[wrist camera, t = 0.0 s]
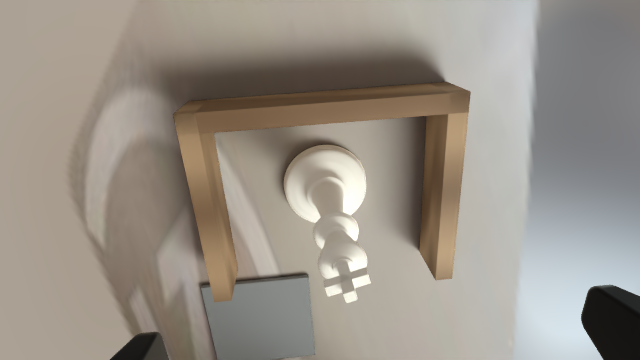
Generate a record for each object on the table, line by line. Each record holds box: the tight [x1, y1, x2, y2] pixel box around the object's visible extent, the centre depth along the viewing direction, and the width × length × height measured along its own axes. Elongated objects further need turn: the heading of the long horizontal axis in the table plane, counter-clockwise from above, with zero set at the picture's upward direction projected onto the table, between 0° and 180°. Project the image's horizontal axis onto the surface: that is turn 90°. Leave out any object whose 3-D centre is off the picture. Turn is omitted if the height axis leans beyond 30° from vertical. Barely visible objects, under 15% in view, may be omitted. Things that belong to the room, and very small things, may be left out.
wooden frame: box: [173, 82, 470, 302], centre depth 21 cm, size 11×14×3 cm
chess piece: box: [284, 145, 371, 303], centre depth 18 cm, size 5×5×10 cm
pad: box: [201, 275, 315, 360], centre depth 26 cm, size 7×7×1 cm
